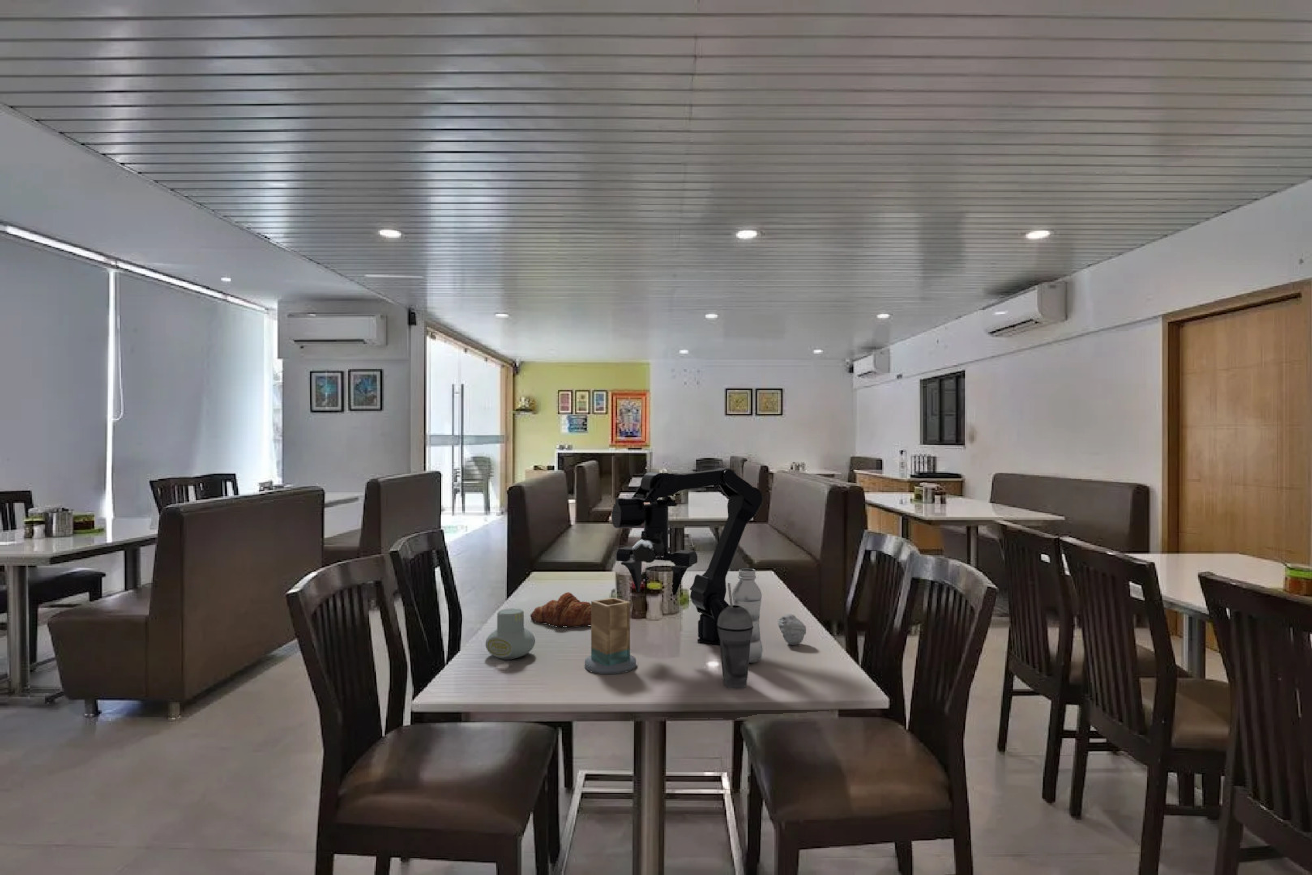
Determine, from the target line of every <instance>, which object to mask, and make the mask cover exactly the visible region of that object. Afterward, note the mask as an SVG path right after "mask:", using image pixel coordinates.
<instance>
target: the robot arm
mask: <svg viewBox="0 0 1312 875" xmlns="http://www.w3.org/2000/svg"><path fill="white" fill-rule="evenodd" d="M714 486H719V488H720V489H721V491H722V492H723V494H724V495H725V496H726V497H727V498H728V500H727V506H726V507H727V519H726V521H725V524H724V527H723V529H722V532H721V534H720V536H719V539H718V542H717V544H716V546H715V549H714V552H713V555H712V557H711V560H710V562H709V565H708V567H707V569H706V571H705V572H703V574H702V575H701V574H696V575H695V576H694V579H693V583H692V584H691V585H692V586H690V588H689V590H690V596H689V598H690V599H691V600H690V601H691V603H692V604H693V606H695V609H696V611H697V613H700V615H699V619H698V621H697V637H698V639H697V640H696V641H697V643H703V644H709V645H710V644H711V645H719V646H720V638H719V635H718V628H717V623H718V617H719V615H720V613H721V612H722V611H723V610H724V609H725V608H726V607H728V606H730V603H728V602H727V601H726V600H725V599H726V595H727V594H726V593H727V583H726V582H727V581H726V579H727V575H728V573H729V570H730V568H731V566H732V562H733V559H734V557H735V554H736V552H737V549H738V547H739V544H740V541H741V539H742V536H743V534H744V532H745V528H746V526H747V524H748V523H749V522H750V521H751V520H752V519H753V518H755V516H756V515H757V513H758V511H759V510H760V508H761V506H762V504H763V502H764V501H763V500H764V497H763V494H762V492H761V490H760V489H759V488H758V487H754V486H753V485H751V484H750V483H749V482H747V481H746V480H745V479H743V478H741V476H738V475H737V474H736V472H734V470H732V469H731V468H726V467H721V468H720V467H719V468H716V469H709V470H702V471H699V470H698V471H693V472H692V471H691V472H684V473H682V472H681V473H667V472H656V471H655V472H653V471H652V472H651V471H649V472H647V473H644V475H643V477H641V480H640V485H639V486H638V488H637V489H636V491H635V492H634V493H633V496H632V497H631V498H630V497H629V498H622V497H615V500H614V504H613V506H612V509H611V510H612V511H611V513H610V516H611V524H612V525H613V527H614V528H615V529H624V528H640V527H641V526H642V525H643V530H642V531H641V533H640V538H639V540H637V541H636V543H635V544H634V545H632V546H627V545H626V546H624V547H620V548H618V549H617V550H616V552H615V561H616V562H620V565H622V566H625V568H627V570H628V571H629V574H630V576H631V578H632V582H633V584H634V587H635V590H636V592H640V591H641V587H642V568H643V567H642V566H643V562H644V563H647V564H649V563H653V562H654V561H664V562H665V561H666V562H671V563H672V564H673V565H672V566H671V570H672V584H671V585H672V588H671V590H672V596H676V595H677V593H678V591H679V589H680V588H679V587H680V584H681V582H682V581H683V578H684V575H685V574H686V572H687V570H688V569H689V568H691V567H693V565H696V564H698V553H697V552H696V550H686V549H680V550H677V551H675V552H671V546H669V535H671V529H670V528H669V508H670V507H677V506H678V504H677V502H675V501H674V499H672V497H671V496H672V495H675V494H677V493H679V492H681V491H683V490H690V489H691V490H692V489H699V488H706V487H714Z"/></svg>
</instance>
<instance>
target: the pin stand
mask: <svg viewBox="0 0 1312 875" xmlns="http://www.w3.org/2000/svg"><path fill="white" fill-rule="evenodd" d="M636 667H637V658H636V657H635V656H633V655H632V654H630V661H627V662H623V663H619V664H615V665H611V666H605V665H602V664H600V663H598V662H596V661H594V660H592V659H591V655H589V656H587V657H586V658H585V659H584V669H585V668H586V669H587V671H588V672H590V671H592V672H591V673H593V672H595V673H594V674H597V673H600V674H599V675H620V674H624V673H623V672H625V673H627V672H626V671H628V672H631V671H633V670H634V669H635V668H636ZM586 669H585V670H586ZM619 673H620V674H619Z"/></svg>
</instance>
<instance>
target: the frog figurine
mask: <svg viewBox="0 0 1312 875" xmlns="http://www.w3.org/2000/svg"><path fill="white" fill-rule="evenodd" d="M777 624H778V628H779V630H780V632H781V634H782V637H783V639H784V641H785V642H786V643H787V644H788V645H791V646H797V645H799V644H801V643H802V642H803V641H804V638H805V635H807V628H806V627H807V626H806V625H805V623H803V622H802V621H801V619H799V618H798V617H796V615H794V614H791V613H788V614H784V615H783V616H781V617H779V619H778V623H777Z"/></svg>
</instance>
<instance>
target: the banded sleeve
mask: <svg viewBox="0 0 1312 875" xmlns="http://www.w3.org/2000/svg"><path fill="white" fill-rule="evenodd" d="M590 604H591V626H590V627H591V629H590V638H591V639H590V640H591V641H590V649H591V650H590V656H591V659H592V660H594V661H596V662H598V663H600V664H602V665H605V666H611V665H615V664H619V663H623V662H627V661H630V655H631V602H630V601H627V600H625V599H620V598H617V597H609V598H602V599H598V600H591V602H590Z"/></svg>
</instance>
